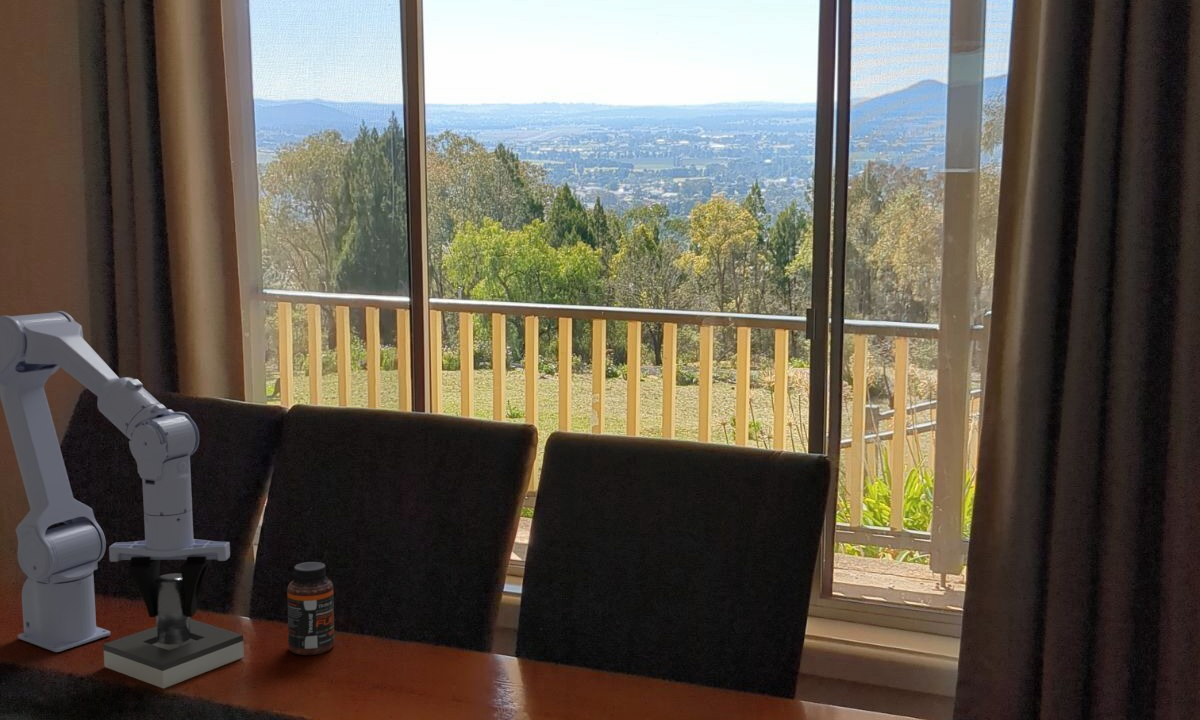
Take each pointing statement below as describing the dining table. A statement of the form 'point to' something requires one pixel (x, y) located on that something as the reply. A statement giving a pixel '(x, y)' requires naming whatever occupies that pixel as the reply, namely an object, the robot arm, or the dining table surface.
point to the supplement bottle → (310, 610)
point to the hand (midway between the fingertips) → (173, 614)
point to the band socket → (173, 654)
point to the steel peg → (171, 610)
